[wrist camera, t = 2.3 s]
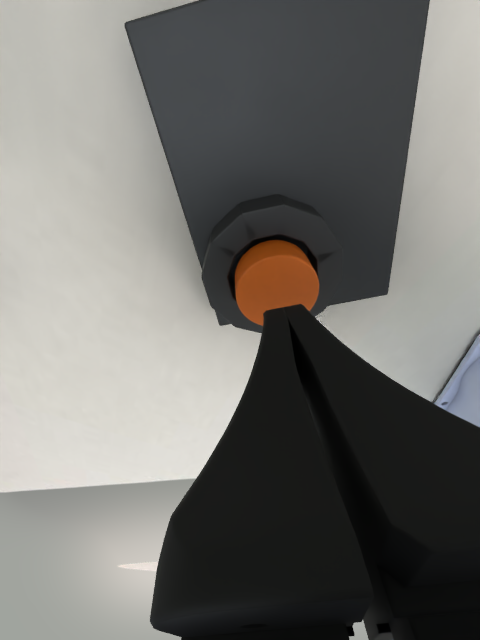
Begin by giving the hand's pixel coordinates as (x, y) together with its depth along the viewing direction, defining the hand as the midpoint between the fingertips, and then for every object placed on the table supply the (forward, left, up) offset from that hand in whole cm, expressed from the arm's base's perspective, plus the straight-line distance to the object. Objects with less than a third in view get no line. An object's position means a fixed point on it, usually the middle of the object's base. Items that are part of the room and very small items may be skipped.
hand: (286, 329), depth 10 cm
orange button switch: (+3, -1, -7) cm, 8 cm away
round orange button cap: (0, 0, -4) cm, 4 cm away
